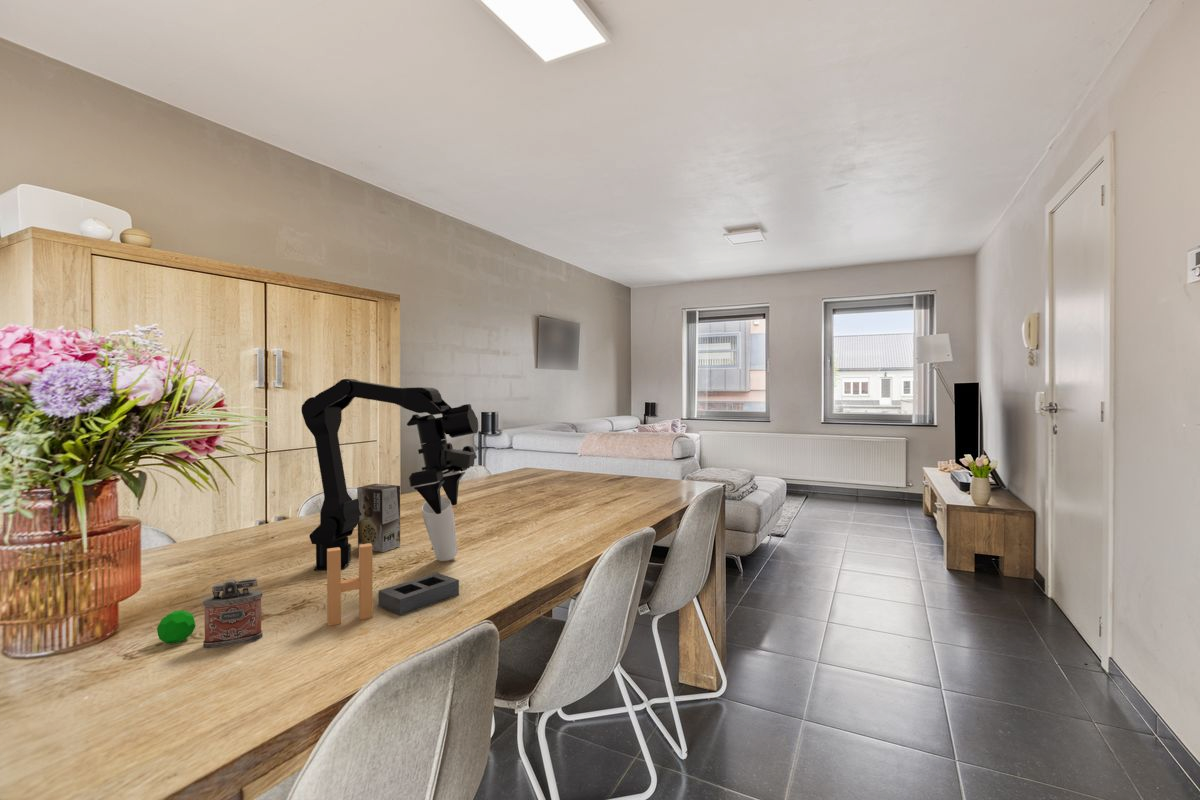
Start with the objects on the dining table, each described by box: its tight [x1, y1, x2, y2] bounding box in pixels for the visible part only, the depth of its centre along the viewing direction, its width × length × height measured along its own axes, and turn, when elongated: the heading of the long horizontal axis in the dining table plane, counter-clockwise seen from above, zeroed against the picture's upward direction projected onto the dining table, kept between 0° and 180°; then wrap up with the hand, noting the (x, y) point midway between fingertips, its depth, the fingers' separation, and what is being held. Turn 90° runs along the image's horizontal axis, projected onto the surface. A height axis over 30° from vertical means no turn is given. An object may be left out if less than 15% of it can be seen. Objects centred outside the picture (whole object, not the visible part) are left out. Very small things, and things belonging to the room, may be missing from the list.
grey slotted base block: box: [377, 572, 460, 617], centre depth 107 cm, size 13×7×3 cm, turn 143°
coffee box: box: [356, 483, 401, 553], centre depth 143 cm, size 9×6×16 cm
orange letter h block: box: [326, 543, 374, 627], centre depth 98 cm, size 7×2×13 cm, turn 121°
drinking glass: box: [421, 496, 458, 562], centre depth 130 cm, size 7×7×15 cm
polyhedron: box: [156, 610, 196, 645], centre depth 89 cm, size 5×5×5 cm
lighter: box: [202, 577, 264, 650], centre depth 89 cm, size 8×3×10 cm, turn 117°
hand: (447, 509), depth 124 cm, fingers open, 9 cm apart
